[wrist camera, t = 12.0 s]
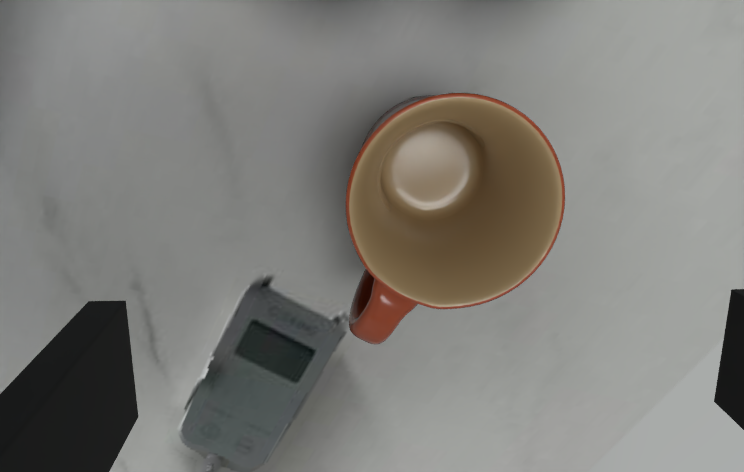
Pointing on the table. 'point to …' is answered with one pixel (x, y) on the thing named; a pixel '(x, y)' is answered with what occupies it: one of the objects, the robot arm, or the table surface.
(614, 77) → the table surface
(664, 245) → the table surface
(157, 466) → the table surface
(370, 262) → the mug
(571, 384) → the table surface
